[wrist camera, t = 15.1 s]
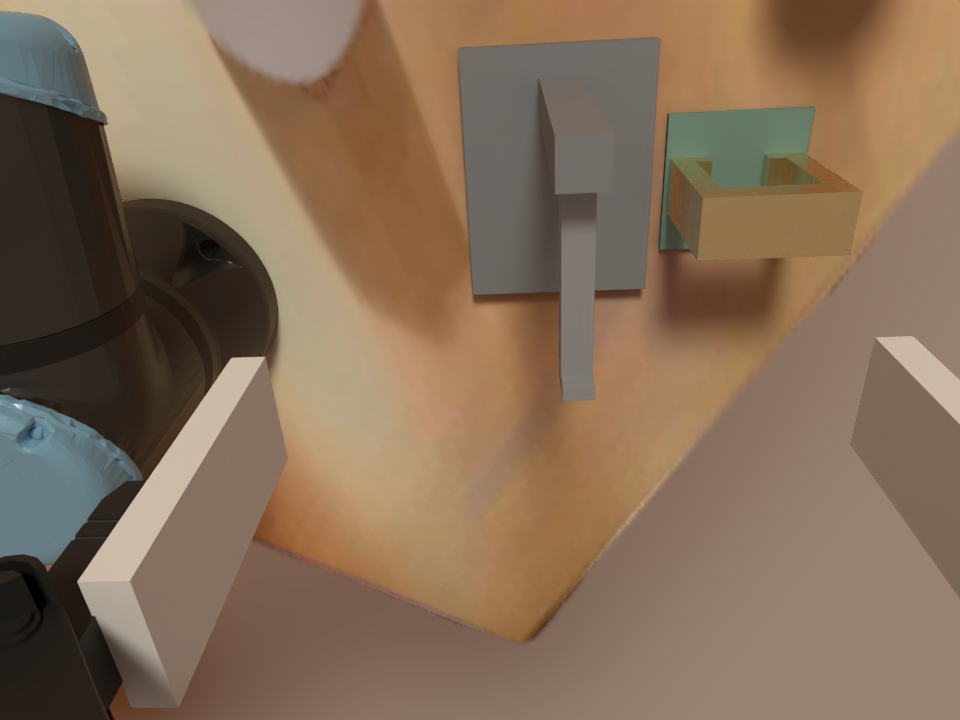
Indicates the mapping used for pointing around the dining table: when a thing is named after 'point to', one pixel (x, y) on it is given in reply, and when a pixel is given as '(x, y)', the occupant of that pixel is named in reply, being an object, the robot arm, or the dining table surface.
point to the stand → (560, 177)
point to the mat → (731, 148)
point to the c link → (763, 210)
